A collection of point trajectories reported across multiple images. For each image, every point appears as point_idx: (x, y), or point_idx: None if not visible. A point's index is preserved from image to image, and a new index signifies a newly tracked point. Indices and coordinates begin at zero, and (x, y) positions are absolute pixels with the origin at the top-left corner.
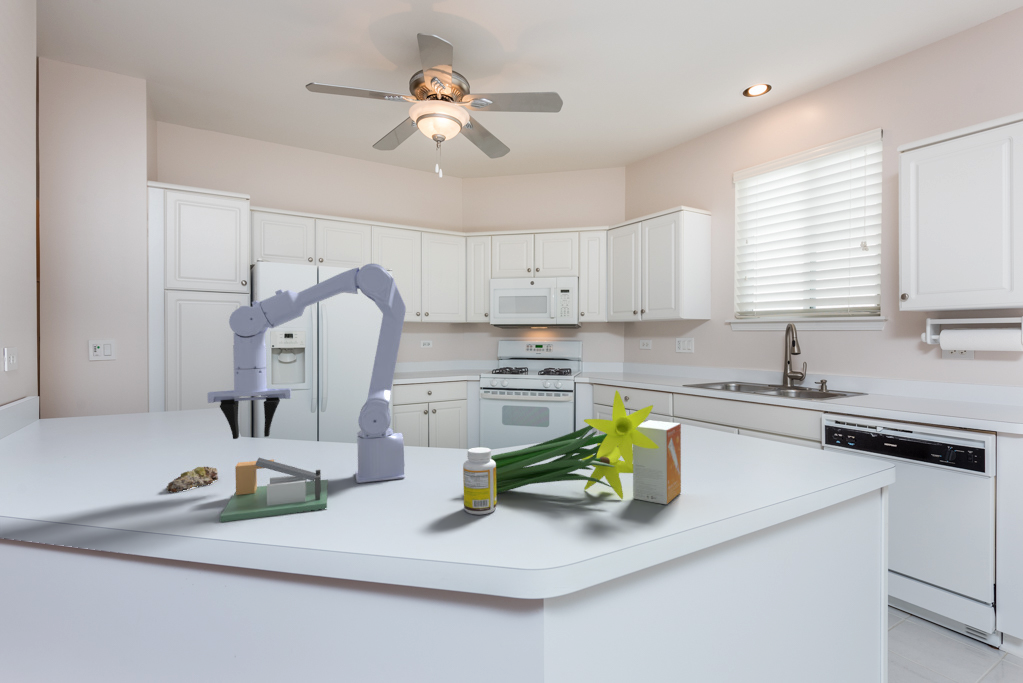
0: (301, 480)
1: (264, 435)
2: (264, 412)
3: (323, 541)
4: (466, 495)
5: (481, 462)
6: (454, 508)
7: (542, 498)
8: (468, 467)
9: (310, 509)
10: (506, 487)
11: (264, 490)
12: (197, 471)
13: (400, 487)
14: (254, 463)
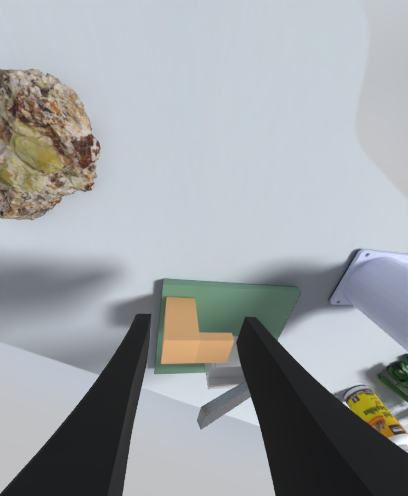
0: None
1: (237, 348)
2: (273, 484)
3: (236, 410)
4: (355, 413)
5: None
6: (345, 386)
7: None
8: None
9: None
10: (398, 394)
11: (205, 309)
12: (32, 166)
13: (354, 330)
14: (196, 355)
